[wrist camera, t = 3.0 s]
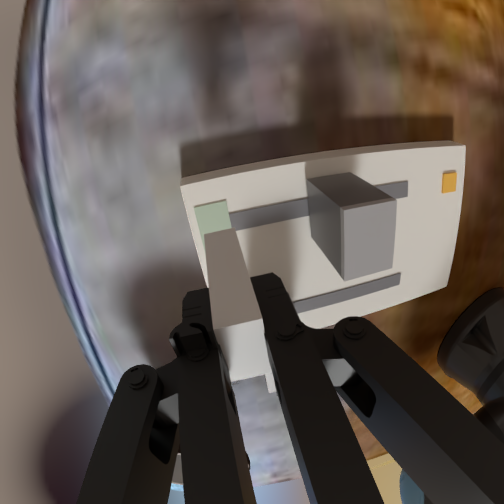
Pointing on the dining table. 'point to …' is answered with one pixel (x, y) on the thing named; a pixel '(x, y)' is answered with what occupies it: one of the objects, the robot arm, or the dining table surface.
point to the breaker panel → (299, 232)
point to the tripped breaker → (352, 224)
